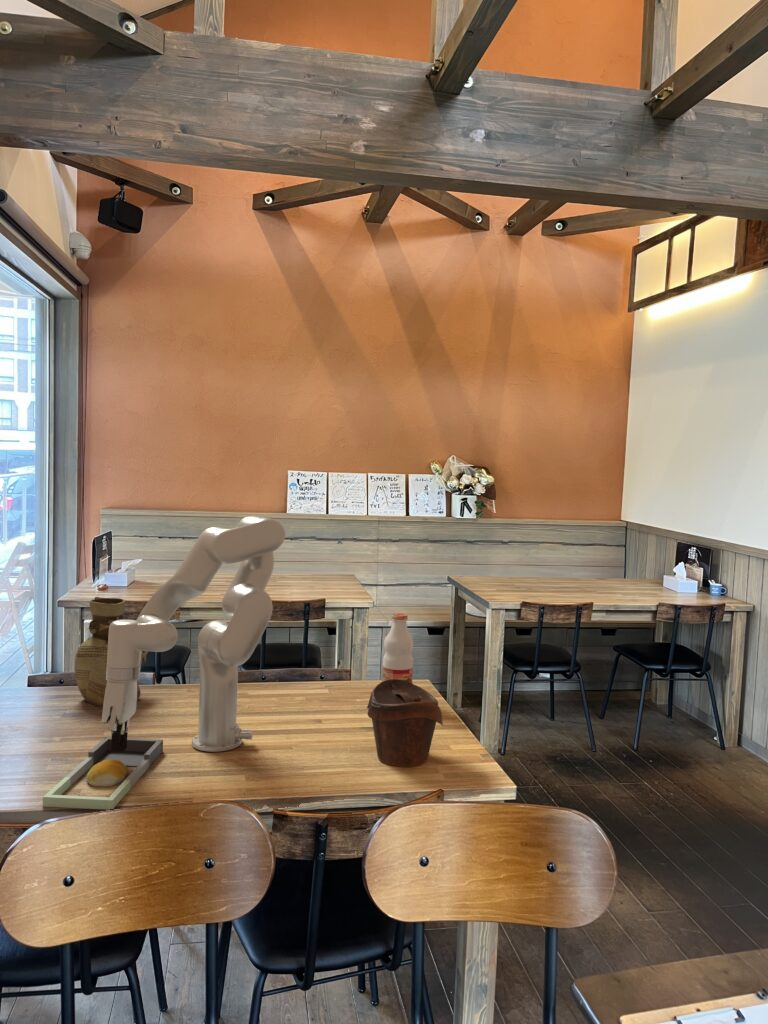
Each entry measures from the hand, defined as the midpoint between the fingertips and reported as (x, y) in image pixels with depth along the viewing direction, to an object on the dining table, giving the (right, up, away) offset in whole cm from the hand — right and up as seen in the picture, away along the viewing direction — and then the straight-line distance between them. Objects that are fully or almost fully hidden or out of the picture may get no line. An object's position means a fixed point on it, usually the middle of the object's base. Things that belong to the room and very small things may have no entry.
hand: (118, 749), depth 174 cm
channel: (0, -4, -8) cm, 9 cm away
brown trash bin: (+68, -6, +10) cm, 69 cm away
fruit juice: (+67, -4, +53) cm, 85 cm away
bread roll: (+1, -4, -9) cm, 10 cm away
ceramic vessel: (-20, -1, +48) cm, 52 cm away
